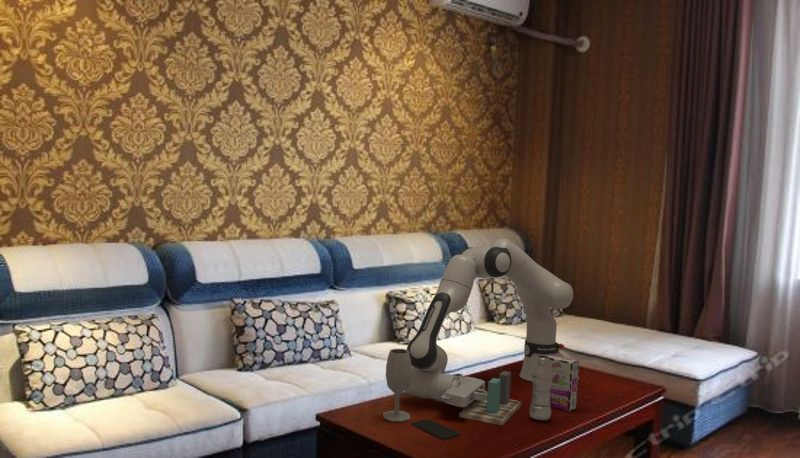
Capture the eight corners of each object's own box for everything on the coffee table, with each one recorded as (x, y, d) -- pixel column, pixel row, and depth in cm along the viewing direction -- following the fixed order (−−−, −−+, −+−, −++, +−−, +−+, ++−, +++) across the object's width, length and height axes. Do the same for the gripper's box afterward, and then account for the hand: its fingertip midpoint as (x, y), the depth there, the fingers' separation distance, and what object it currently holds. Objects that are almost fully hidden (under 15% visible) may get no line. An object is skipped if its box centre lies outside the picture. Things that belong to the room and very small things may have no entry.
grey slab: (497, 404, 228) (499, 374, 227) (501, 400, 232) (503, 370, 231) (504, 406, 226) (506, 375, 226) (509, 401, 231) (511, 372, 230)
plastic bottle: (550, 424, 217) (554, 360, 215) (528, 421, 218) (532, 358, 217) (550, 417, 223) (554, 355, 222) (529, 414, 224) (532, 353, 223)
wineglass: (378, 414, 218) (381, 348, 217) (403, 411, 222) (406, 346, 220) (388, 424, 210) (391, 355, 209) (415, 421, 214) (418, 353, 212)
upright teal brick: (486, 413, 219) (488, 381, 218) (491, 408, 223) (493, 378, 222) (494, 414, 218) (496, 383, 217) (499, 410, 222) (500, 379, 221)
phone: (428, 418, 216) (462, 433, 204) (428, 421, 216) (461, 436, 204) (409, 423, 211) (443, 438, 199) (409, 425, 211) (443, 441, 199)
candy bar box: (576, 409, 232) (580, 360, 231) (569, 412, 229) (572, 363, 228) (547, 400, 240) (550, 353, 239) (539, 403, 236) (542, 355, 235)
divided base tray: (459, 416, 219) (459, 409, 219) (480, 398, 238) (481, 392, 238) (502, 425, 214) (502, 418, 213) (521, 406, 232) (521, 399, 232)
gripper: (437, 387, 217) (479, 395, 211) (460, 372, 235) (499, 378, 230) (436, 407, 217) (478, 415, 212) (459, 390, 236) (498, 397, 230)
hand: (489, 396), depth 221 cm, fingers closed, pressing on upright teal brick
